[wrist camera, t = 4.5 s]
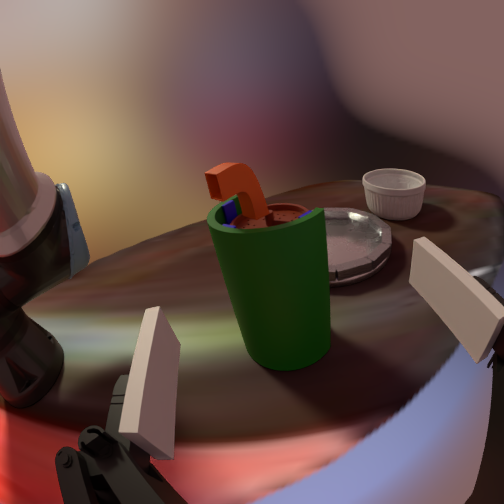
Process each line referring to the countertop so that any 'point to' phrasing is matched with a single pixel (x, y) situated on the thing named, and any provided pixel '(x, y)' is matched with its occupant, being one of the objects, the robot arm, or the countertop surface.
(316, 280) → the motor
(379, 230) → the tray
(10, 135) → the robot arm
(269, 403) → the countertop surface
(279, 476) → the countertop surface
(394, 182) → the ramekin
